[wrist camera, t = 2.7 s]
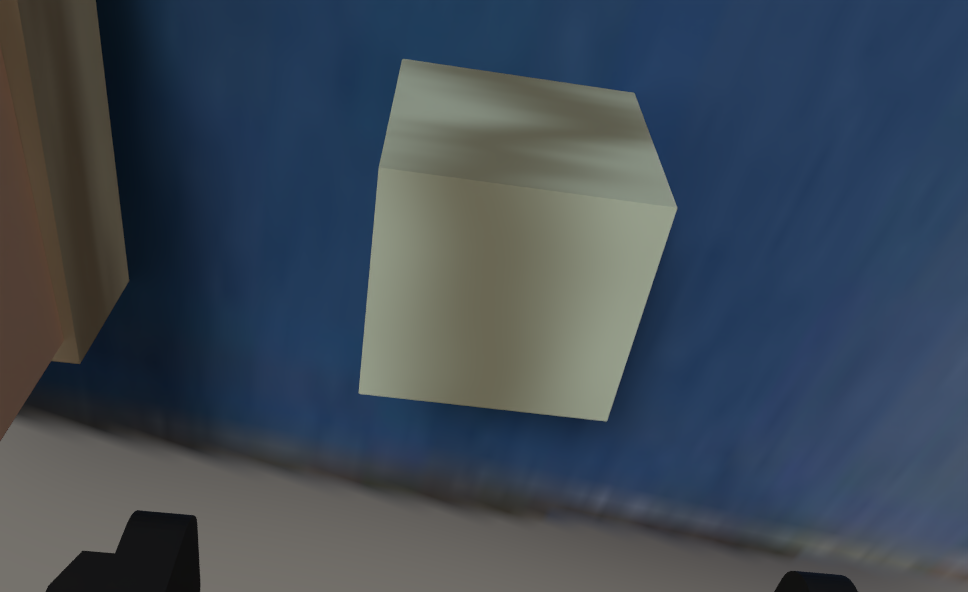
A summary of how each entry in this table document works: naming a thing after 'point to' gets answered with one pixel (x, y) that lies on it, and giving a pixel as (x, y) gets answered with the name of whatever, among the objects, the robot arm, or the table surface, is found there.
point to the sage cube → (511, 242)
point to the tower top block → (21, 274)
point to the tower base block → (68, 158)
